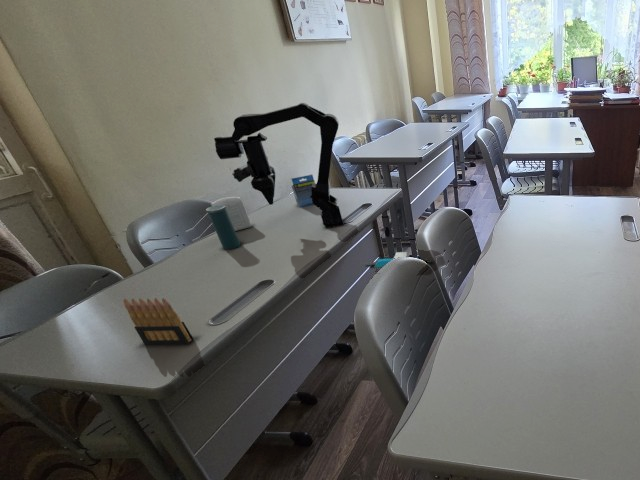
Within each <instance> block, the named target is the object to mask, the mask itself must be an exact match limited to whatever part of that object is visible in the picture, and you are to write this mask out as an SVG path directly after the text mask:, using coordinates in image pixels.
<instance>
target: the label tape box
mask: <svg viewBox="0 0 640 480" xmlns="http://www.w3.org/2000/svg"><path fill="white" fill-rule="evenodd" d="M290 179H291V181H292V185H291V189H292V193H293V195H294V199H295V202H296V205H297V206H298V207H300V208H301V207H305V206H308V205H314V204H313V202H312V198H310V196H311V192H312V191H311V186H312V183H315V184H316V181H315V179H314V175H313V174H308V175H303V176H298V177H293V178H290Z"/></svg>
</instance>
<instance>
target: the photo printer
mask: <svg viewBox="0 0 640 480" xmlns="http://www.w3.org/2000/svg"><path fill="white" fill-rule="evenodd" d="M217 205H225V207H226V210H227V213H228V215H229V218H230V220H231V222H232V225H233V227H234V230H235V232H236V231H241V230H245V229H248V228H252V222H251V219H250V217H249V213H248V212H247V208H246V206H245V204H244V201H243V200H242V199H241V197H239V196H227V197H222V198H219V199H217V200H215V201H213V202H211V203H210V206H211V207H212V206H217Z"/></svg>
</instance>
